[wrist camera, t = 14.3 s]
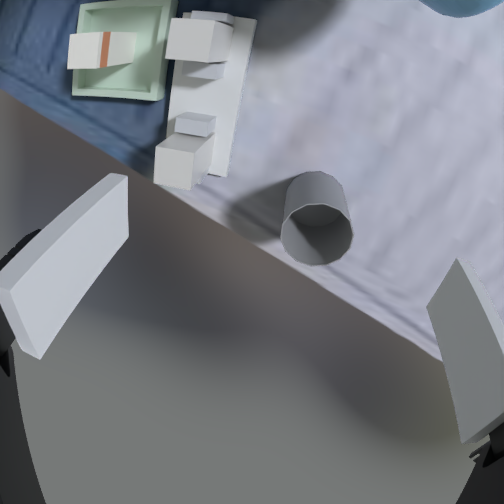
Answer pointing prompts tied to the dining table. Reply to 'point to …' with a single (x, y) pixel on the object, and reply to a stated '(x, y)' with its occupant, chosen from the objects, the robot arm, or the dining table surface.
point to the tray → (145, 55)
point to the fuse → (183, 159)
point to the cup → (316, 220)
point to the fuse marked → (100, 49)
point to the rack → (212, 92)
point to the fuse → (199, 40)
